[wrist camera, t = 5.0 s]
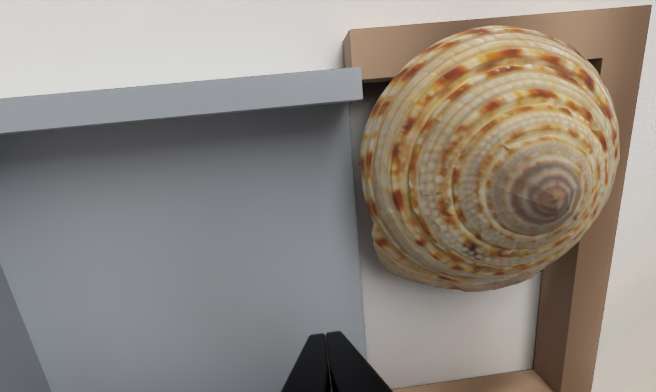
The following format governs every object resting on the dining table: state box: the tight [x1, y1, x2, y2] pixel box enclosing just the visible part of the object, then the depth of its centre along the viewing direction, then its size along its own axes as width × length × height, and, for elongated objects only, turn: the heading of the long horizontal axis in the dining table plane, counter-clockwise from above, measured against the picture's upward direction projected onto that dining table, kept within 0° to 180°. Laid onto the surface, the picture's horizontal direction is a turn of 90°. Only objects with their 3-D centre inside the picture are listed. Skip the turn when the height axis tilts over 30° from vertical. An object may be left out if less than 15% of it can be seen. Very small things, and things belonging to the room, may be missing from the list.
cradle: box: [343, 5, 652, 392], centre depth 12 cm, size 9×16×2 cm, turn 5°
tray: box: [0, 67, 367, 392], centre depth 11 cm, size 14×14×3 cm
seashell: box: [359, 25, 620, 292], centre depth 10 cm, size 8×6×8 cm
